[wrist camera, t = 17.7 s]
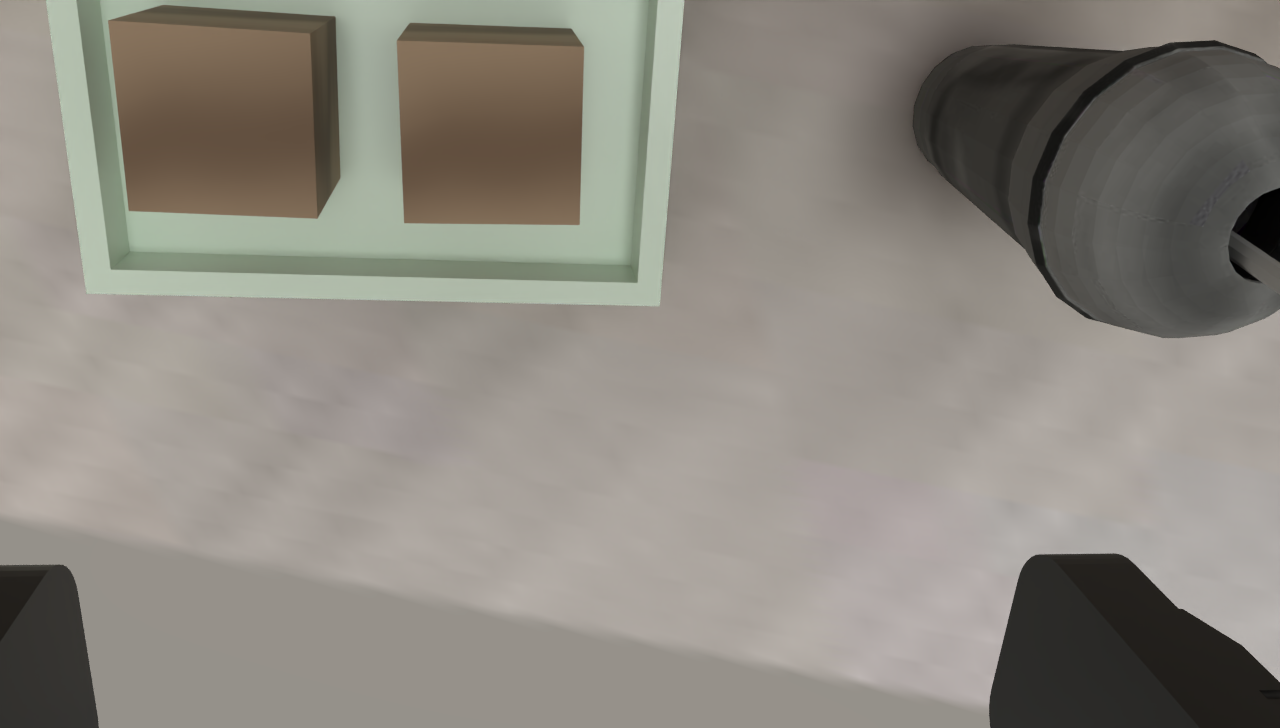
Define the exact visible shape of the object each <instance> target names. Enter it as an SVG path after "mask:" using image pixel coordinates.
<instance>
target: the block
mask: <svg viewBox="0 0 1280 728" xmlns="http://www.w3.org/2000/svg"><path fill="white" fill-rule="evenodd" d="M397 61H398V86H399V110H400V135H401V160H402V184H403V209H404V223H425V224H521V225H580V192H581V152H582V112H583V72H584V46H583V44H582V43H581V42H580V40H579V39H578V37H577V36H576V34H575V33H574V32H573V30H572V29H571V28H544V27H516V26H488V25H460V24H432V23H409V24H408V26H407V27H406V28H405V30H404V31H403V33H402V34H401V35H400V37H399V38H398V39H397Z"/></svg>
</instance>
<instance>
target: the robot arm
mask: <svg viewBox="0 0 1280 728" xmlns="http://www.w3.org/2000/svg"><path fill="white" fill-rule="evenodd" d="M989 717H990V727H991V728H1280V682H1279V681H1278V680H1277V679H1276V678H1275V677H1274V676H1273V675H1272V674H1271V673H1270V672H1269V671H1268V670H1266V669H1265V668H1264V667H1263V666H1262V665H1261V664H1260V663H1259V662H1258V661H1257V660H1256V659H1255V658H1254V657H1253V656H1252V655H1251V654H1250V653H1249V652H1248V651H1247V650H1246V649H1245V648H1244V647H1243V646H1242V645H1240V644H1239V643H1237V642H1235V641H1234V640H1232V639H1231V638H1229V637H1227V636H1226V635H1224V634H1222V633H1221V632H1219V631H1218V630H1216V629H1214V628H1213V627H1211V626H1209V625H1208V624H1206V623H1204V622H1203V621H1201V620H1200V619H1198V618H1196V617H1195V616H1193V615H1191V614H1190V613H1188V612H1187V611H1185V610H1183V609H1178V608H1177V607H1176V606H1175V605H1174V604H1173V603H1172V602H1171V601H1170V600H1169V599H1168V598H1167V597H1166V596H1165V595H1164V594H1163V593H1162V592H1161V591H1160V590H1159V589H1158V588H1157V587H1156V586H1155V585H1154V584H1153V583H1152V582H1151V580H1150V579H1149V578H1148V577H1147V576H1146V575H1145V574H1144V573H1143V572H1142V571H1141V570H1140V569H1139V568H1138V567H1137V566H1136V565H1135V564H1134V563H1133V562H1131V561H1130V560H1129V559H1128V558H1126V557H1124V556H1122V555H1119V554H1045V555H1035V556H1033V557H1031V558H1030V559H1029V560H1028V561H1027V562H1026V563H1025V565H1024V566H1023V568H1022V570H1021V572H1020V576H1019V579H1018V582H1017V587H1016V591H1015V595H1014V599H1013V603H1012V607H1011V611H1010V615H1009V619H1008V624H1007V628H1006V632H1005V636H1004V640H1003V644H1002V648H1001V652H1000V656H999V661H998V665H997V669H996V673H995V677H994V681H993V685H992V689H991V695H990V704H989ZM0 728H99V727H98V716H97V710H96V703H95V697H94V691H93V685H92V678H91V672H90V667H89V659H88V653H87V647H86V641H85V635H84V629H83V623H82V615H81V609H80V603H79V597H78V591H77V586H76V583H75V580H74V577H73V575H72V573H71V571H70V570H69V569H68V568H67V567H66V566H64V565H0Z"/></svg>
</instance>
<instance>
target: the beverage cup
mask: <svg viewBox="0 0 1280 728" xmlns="http://www.w3.org/2000/svg"><path fill="white" fill-rule="evenodd" d="M913 128H914V132H915V136H916V141H917V145H918V147H919V148H920V150H921V151H922V153H923V154H924V156H925V157H926V159H927V160H928V161H929V162H930V163H932V164H933V165H934V166H935V167H936V168H937V170H938V171H939V173H940V174H941V176H943V177H944V178H945V179H946V180H947V181H948V182H949V183H951V184H952V185H953V186H954V187H955V188H956V189H957V190H958V191H960V192H961V193H962V194H963V195H964V196H965V197H966V198H968V199H969V200H970V201H971V202H972V203H973V204H974V205H976V206H977V207H978V208H979V209H980V210H981V211H982V212H983V213H985V214H986V215H987V216H988V217H989V218H990V219H991V220H993V221H994V222H995V223H996V224H997V225H998V226H999V227H1001V228H1002V229H1003V230H1004V231H1005V232H1006V233H1007V234H1008V235H1010V236H1011V237H1012V238H1013V239H1014V240H1015V241H1016V242H1018V243H1019V244H1020V245H1021V246H1022V247H1023V248H1024V249H1025V250H1026V252H1027V253H1028V255H1029V256H1030V258H1031V260H1032V261H1033V263H1034V264H1035V265H1036V267H1037V268H1038V269H1039V271H1040V272H1041V273H1042V275H1043V276H1044V278H1045V280H1046V281H1047V283H1048V284H1049V286H1050V287H1051V289H1052V291H1053V292H1054V294H1055V295H1056V297H1058V298H1059V299H1061V300H1062V301H1063V302H1065V303H1066V304H1068V305H1069V306H1070V307H1072V308H1073V309H1075V310H1076V311H1077V312H1079V313H1080V314H1082V315H1083V316H1084V317H1086V318H1088V319H1092V320H1096V321H1100V322H1104V323H1108V324H1111V325H1114V326H1118V327H1122V328H1126V329H1130V330H1134V331H1138V332H1142V333H1146V334H1150V335H1154V336H1158V337H1162V338H1185V337H1197V336H1209V335H1218V334H1222V333H1227V332H1230V331H1233V330H1236V329H1238V328H1241V327H1244V326H1246V325H1249V324H1251V323H1254V322H1257V321H1259V320H1262V319H1265V318H1266V317H1268V316H1270V315H1271V314H1273V313H1275V312H1276V311H1278V310H1279V309H1280V68H1278V67H1275V66H1272V65H1269V64H1267V63H1266V62H1265V61H1264V60H1263V59H1262V58H1260V57H1259V56H1257V55H1256V54H1254V53H1251V52H1248V51H1245V50H1242V49H1239V48H1236V47H1233V46H1230V45H1227V44H1224V43H1221V42H1218V41H1215V40H1213V41H1194V42H1174V43H1168V44H1165V45H1162V46H1160V47H1148V48H1141V49H1133V50H1126V51H1112V50H1095V49H1078V48H1062V47H1045V46H1028V45H997V46H972V47H969V48H967V49H964V50H961V51H959V52H956V53H954V54H952V55H950V56H949V57H948V58H946V59H945V60H944V61H943V62H941V63H940V64H939V65H938V66H936V67H935V68H934V69H933V71H932V72H931V74H930V75H929V76H928V78H927V79H926V80H925V82H924V83H923V85H922V87H921V89H920V92H919V95H918V97H917V100H916V103H915V105H914V119H913Z"/></svg>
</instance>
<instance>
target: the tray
mask: <svg viewBox="0 0 1280 728" xmlns="http://www.w3.org/2000/svg"><path fill="white" fill-rule="evenodd" d="M46 4H47V12H48V19H49V26H50V33H51V41H52V48H53V55H54V63H55V70H56V77H57V84H58V92H59V99H60V106H61V113H62V121H63V128H64V135H65V142H66V150H67V157H68V164H69V171H70V179H71V186H72V193H73V200H74V208H75V215H76V222H77V229H78V237H79V244H80V251H81V258H82V266H83V273H84V280H85V287H86V294H123V295H168V296H214V297H259V298H304V299H350V300H395V301H440V302H486V303H531V304H577V305H622V306H660V296H661V284H662V271H663V259H664V246H665V234H666V222H667V209H668V197H669V185H670V172H671V160H672V147H673V135H674V123H675V110H676V98H677V85H678V73H679V61H680V48H681V36H682V23H683V11H684V0H46ZM161 5H173V6H188V7H202V8H217V9H232V10H247V11H262V12H276V13H291V14H306V15H321V16H335V17H336V49H337V81H338V113H339V145H340V180H339V182H338V183H337V185H336V187H335V189H334V190H333V192H332V194H331V196H330V197H329V199H328V201H327V203H326V205H325V206H324V208H323V210H322V212H321V213H320V215H319V217H318V219H313V218H288V217H263V216H238V215H214V214H189V213H164V212H139V211H129V208H128V199H127V190H126V181H125V172H124V163H123V153H122V144H121V135H120V126H119V117H118V108H117V99H116V89H115V80H114V71H113V62H112V53H111V44H110V35H109V25H108V20H111V19H115V18H118V17H122V16H125V15H129V14H132V13H136V12H139V11H143V10H146V9H150V8H154V7H157V6H161ZM409 23H432V24H460V25H488V26H516V27H544V28H571V29H572V30H573V32H574V33H575V34H576V36H577V37H578V39H579V40H580V42H581V43H582V44H583V46H584V72H583V112H582V152H581V192H580V225H521V224H425V223H404V209H403V184H402V160H401V135H400V110H399V86H398V61H397V39H398V38H399V37H400V35H401V34H402V33H403V31H404V30H405V28H406V27H407V26H408V24H409Z"/></svg>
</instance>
